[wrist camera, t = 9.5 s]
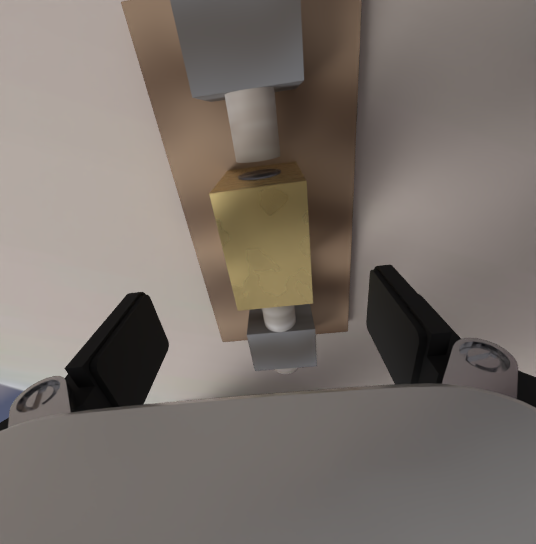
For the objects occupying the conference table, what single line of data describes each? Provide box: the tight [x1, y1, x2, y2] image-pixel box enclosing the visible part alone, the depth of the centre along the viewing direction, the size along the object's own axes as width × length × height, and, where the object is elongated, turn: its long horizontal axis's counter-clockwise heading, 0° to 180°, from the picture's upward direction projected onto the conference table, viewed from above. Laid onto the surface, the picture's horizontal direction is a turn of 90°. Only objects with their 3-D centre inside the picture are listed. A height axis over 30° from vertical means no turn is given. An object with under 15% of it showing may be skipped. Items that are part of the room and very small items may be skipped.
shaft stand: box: [121, 0, 362, 374], centre depth 18 cm, size 24×12×5 cm, turn 7°
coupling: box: [209, 161, 313, 311], centre depth 16 cm, size 7×4×6 cm, turn 8°
